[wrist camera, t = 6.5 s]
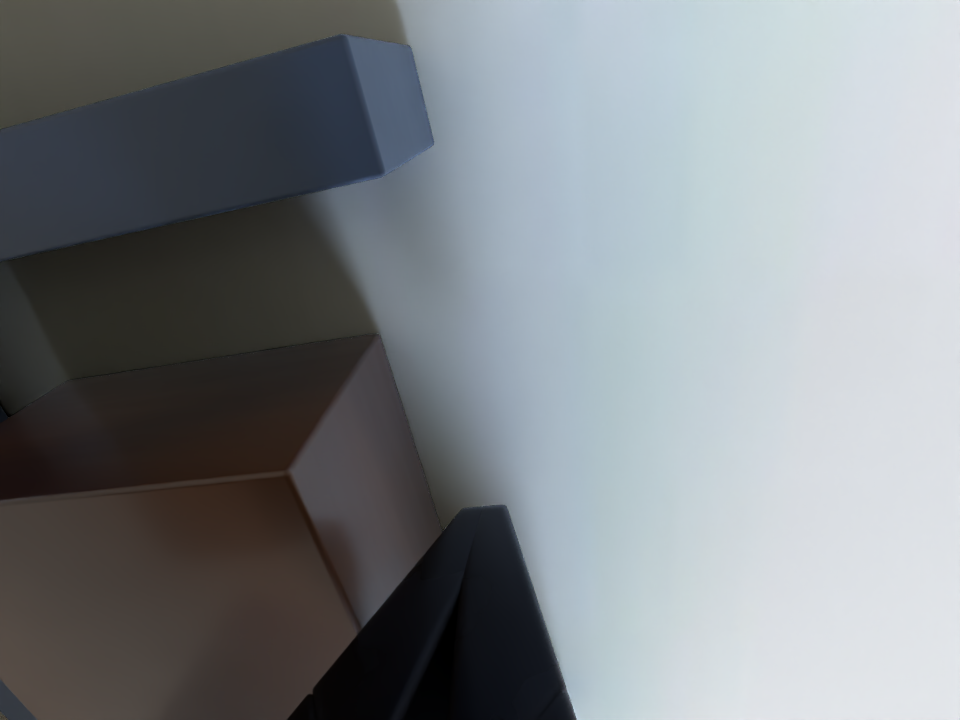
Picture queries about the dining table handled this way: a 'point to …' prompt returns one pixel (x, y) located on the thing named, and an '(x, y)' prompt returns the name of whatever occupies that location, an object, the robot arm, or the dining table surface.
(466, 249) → the dining table surface
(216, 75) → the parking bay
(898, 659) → the dining table surface
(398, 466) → the walnut block
